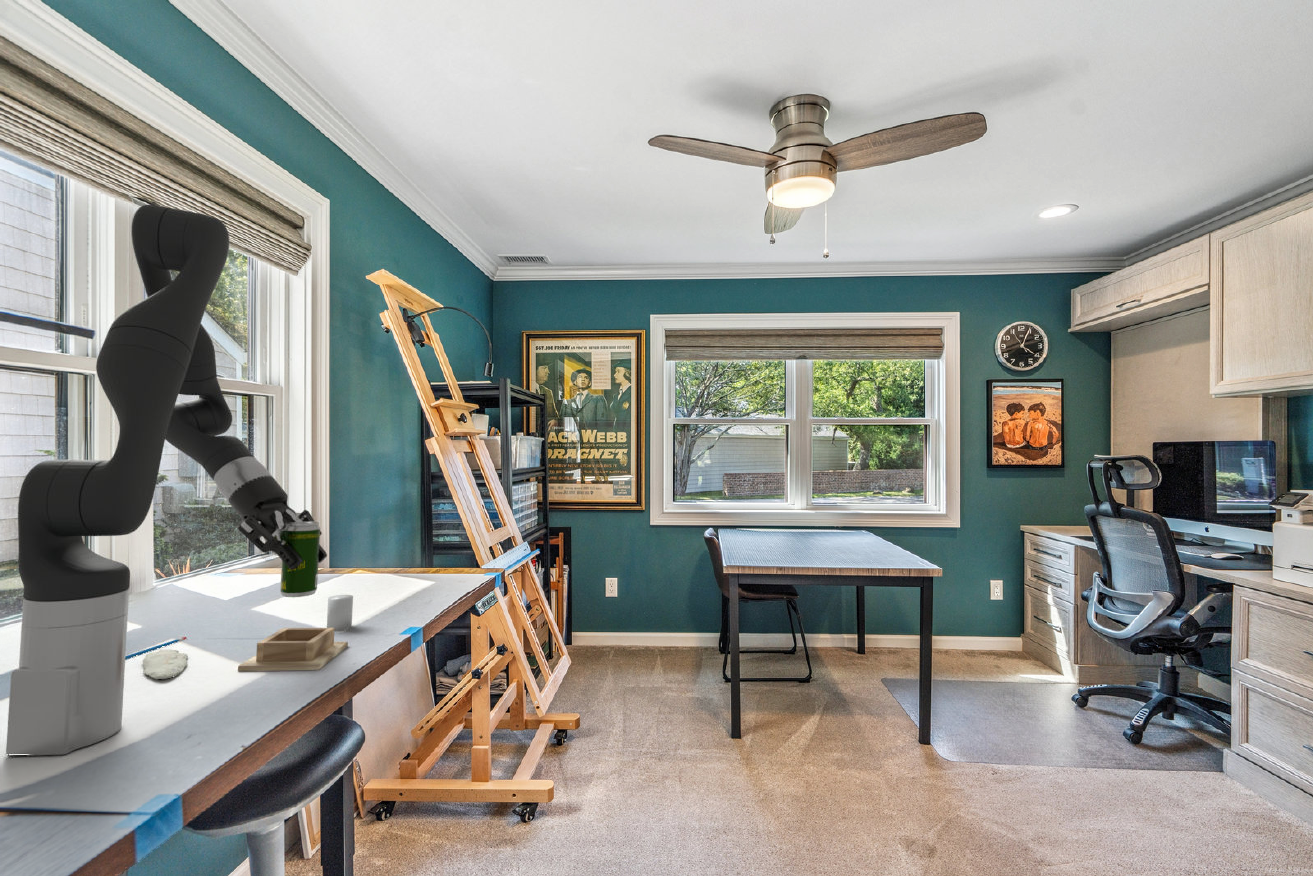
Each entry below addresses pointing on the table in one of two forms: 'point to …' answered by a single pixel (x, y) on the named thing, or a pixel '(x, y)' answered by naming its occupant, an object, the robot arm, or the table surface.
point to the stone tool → (164, 663)
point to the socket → (295, 650)
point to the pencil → (154, 648)
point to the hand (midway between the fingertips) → (310, 562)
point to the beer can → (307, 547)
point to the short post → (340, 612)
